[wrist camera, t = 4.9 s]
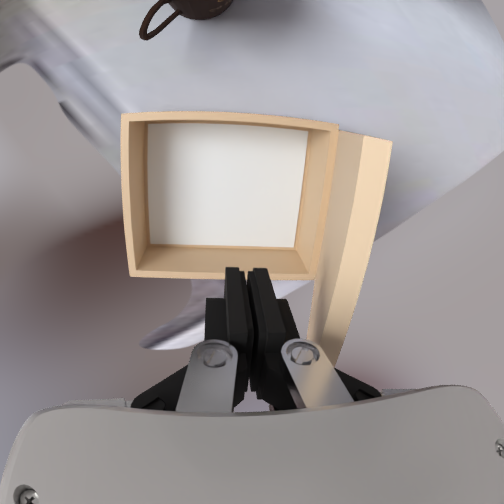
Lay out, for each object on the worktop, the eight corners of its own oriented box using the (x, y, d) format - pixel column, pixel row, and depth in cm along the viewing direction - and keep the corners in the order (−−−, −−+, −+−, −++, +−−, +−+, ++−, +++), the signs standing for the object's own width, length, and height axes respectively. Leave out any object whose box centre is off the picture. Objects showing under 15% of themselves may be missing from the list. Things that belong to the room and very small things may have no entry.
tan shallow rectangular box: (139, 113, 26) (121, 113, 20) (317, 122, 28) (339, 124, 23) (143, 249, 32) (130, 276, 27) (299, 253, 34) (314, 280, 29)
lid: (363, 135, 7) (396, 142, 7) (338, 130, 23) (348, 131, 23) (287, 438, 13) (304, 441, 13) (315, 275, 29) (324, 277, 29)
